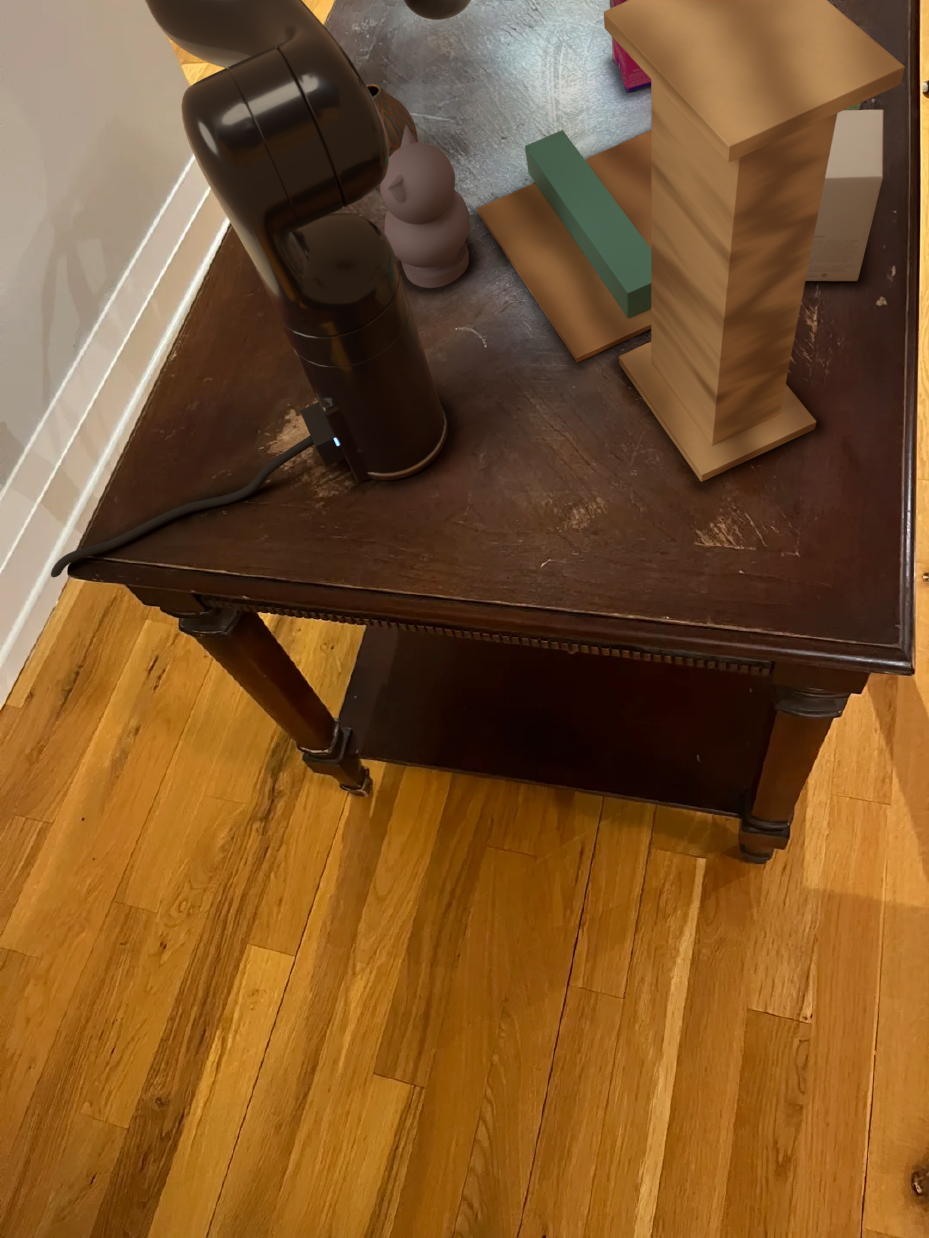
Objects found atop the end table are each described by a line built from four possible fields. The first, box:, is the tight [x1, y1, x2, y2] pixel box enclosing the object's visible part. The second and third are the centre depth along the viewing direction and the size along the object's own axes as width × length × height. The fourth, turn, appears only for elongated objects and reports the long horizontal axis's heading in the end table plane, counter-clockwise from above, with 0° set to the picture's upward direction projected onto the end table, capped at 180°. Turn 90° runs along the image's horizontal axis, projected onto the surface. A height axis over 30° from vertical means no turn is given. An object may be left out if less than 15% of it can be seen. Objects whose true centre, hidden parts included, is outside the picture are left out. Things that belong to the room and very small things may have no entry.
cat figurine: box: [379, 124, 470, 289], centre depth 84 cm, size 8×8×12 cm
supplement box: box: [608, 0, 651, 93], centre depth 91 cm, size 6×6×12 cm
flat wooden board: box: [476, 129, 651, 363], centre depth 86 cm, size 20×22×1 cm
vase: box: [365, 82, 419, 157], centre depth 93 cm, size 7×7×9 cm
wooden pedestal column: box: [603, 0, 905, 483], centre depth 64 cm, size 10×14×30 cm
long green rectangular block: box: [524, 129, 651, 318], centre depth 86 cm, size 4×22×3 cm, turn 22°
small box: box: [805, 109, 885, 282], centre depth 77 cm, size 8×6×10 cm
